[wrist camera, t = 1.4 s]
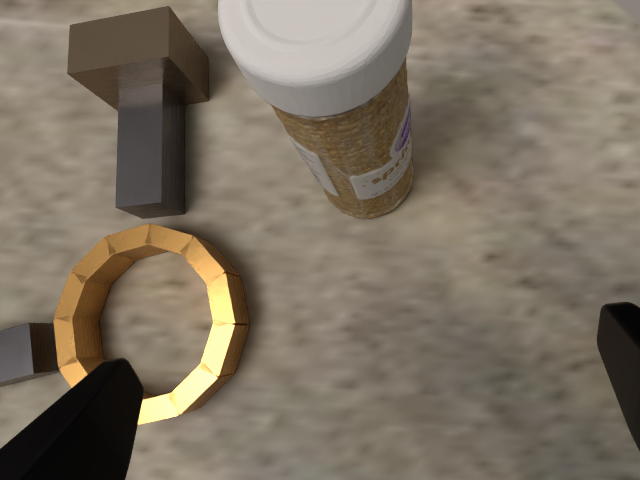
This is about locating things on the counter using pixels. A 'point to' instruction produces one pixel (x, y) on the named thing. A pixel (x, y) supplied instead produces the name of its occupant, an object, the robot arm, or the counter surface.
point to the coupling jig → (137, 209)
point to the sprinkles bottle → (334, 89)
